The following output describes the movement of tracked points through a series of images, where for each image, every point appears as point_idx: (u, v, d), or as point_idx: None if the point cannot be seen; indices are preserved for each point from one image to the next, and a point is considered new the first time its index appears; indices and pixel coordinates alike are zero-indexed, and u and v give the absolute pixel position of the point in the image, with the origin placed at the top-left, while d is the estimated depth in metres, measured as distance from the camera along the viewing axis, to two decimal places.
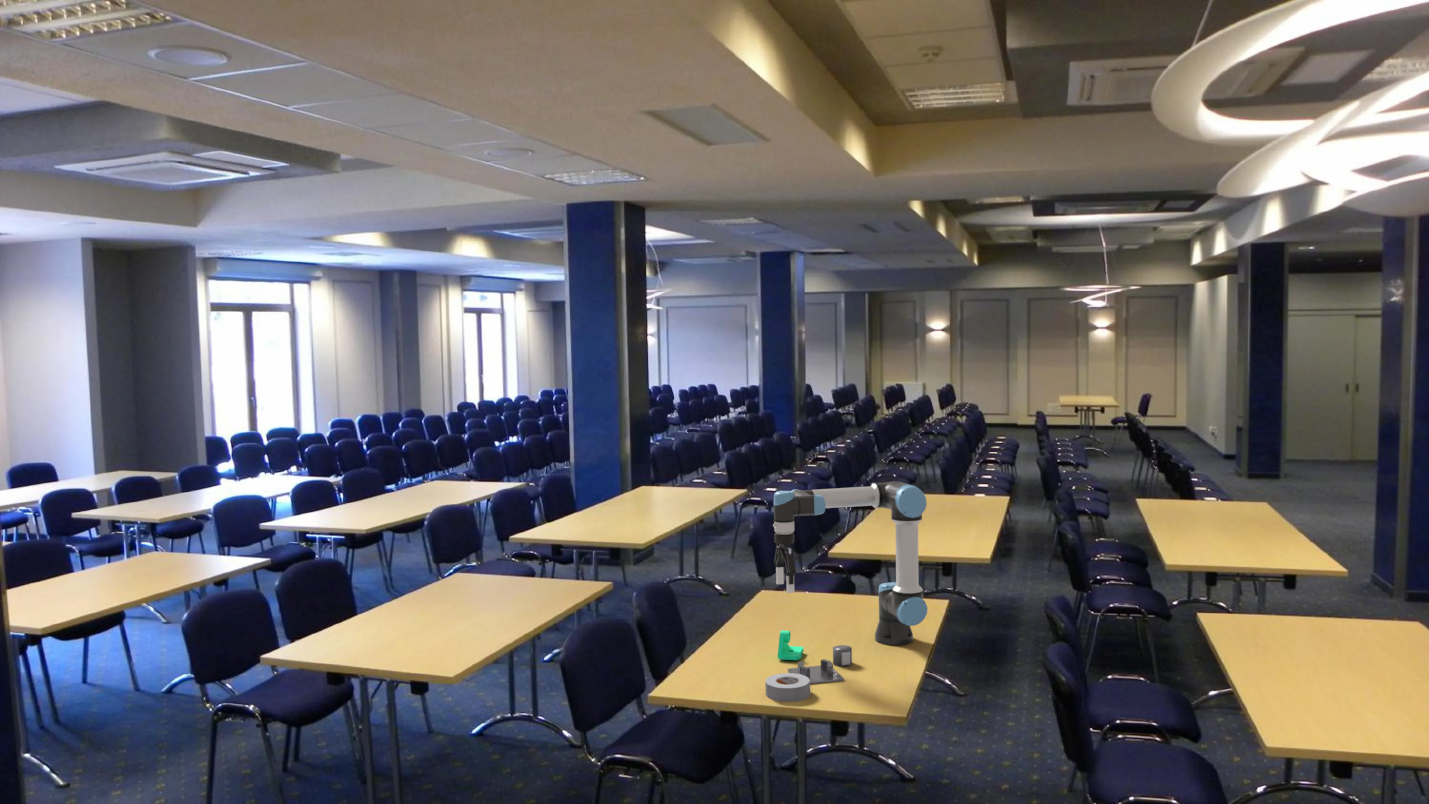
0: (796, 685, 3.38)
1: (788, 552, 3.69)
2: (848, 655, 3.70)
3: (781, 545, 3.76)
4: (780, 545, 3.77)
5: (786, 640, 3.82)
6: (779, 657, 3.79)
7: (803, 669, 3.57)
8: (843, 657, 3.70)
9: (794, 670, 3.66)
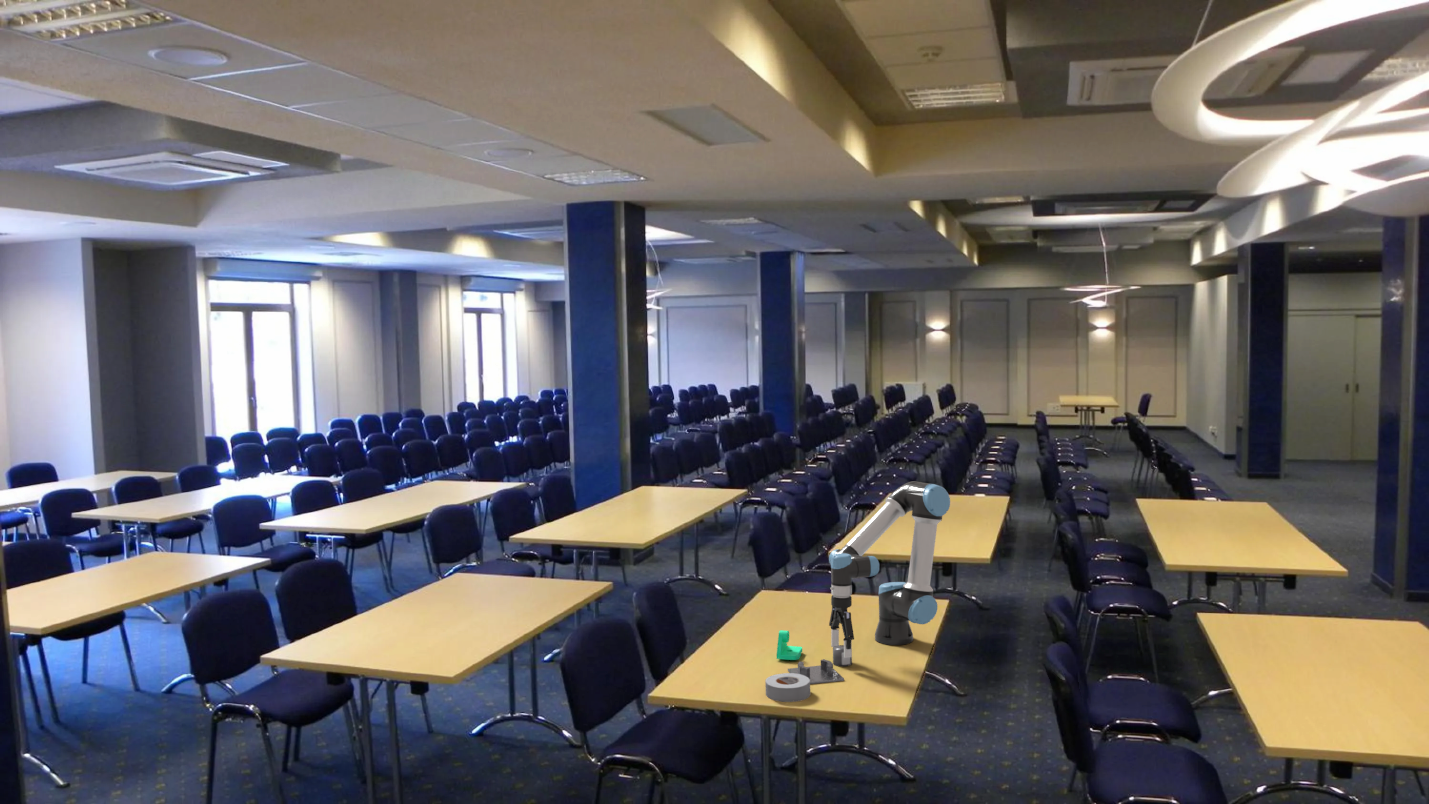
0: (796, 685, 3.38)
1: (846, 616, 3.66)
2: None
3: (838, 608, 3.73)
4: (837, 608, 3.74)
5: (785, 640, 3.82)
6: (778, 657, 3.79)
7: (803, 669, 3.57)
8: (843, 657, 3.70)
9: (794, 670, 3.66)
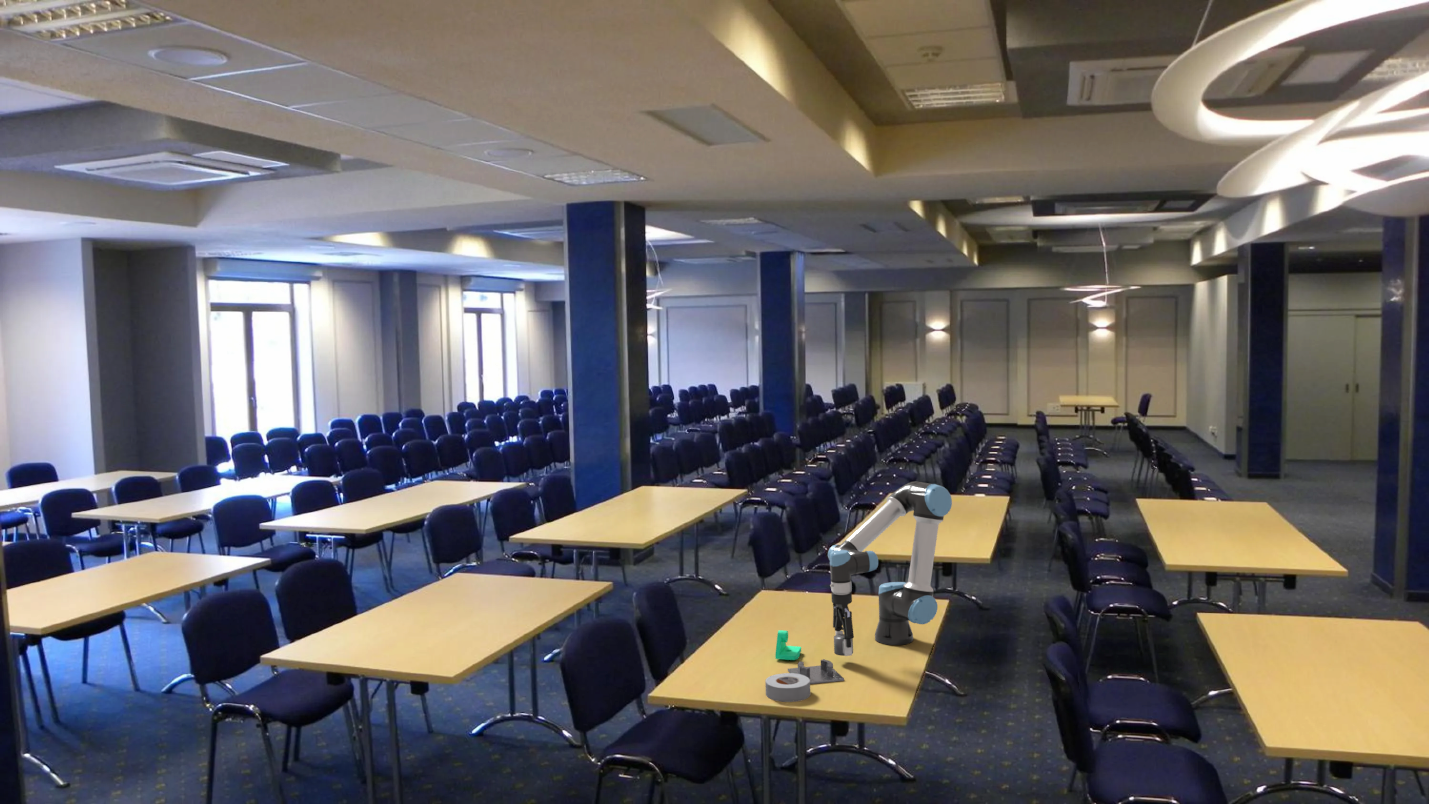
0: (796, 685, 3.38)
1: (847, 616, 3.67)
2: None
3: (838, 605, 3.73)
4: None
5: (784, 640, 3.82)
6: (777, 657, 3.79)
7: (803, 669, 3.57)
8: None
9: (794, 670, 3.66)
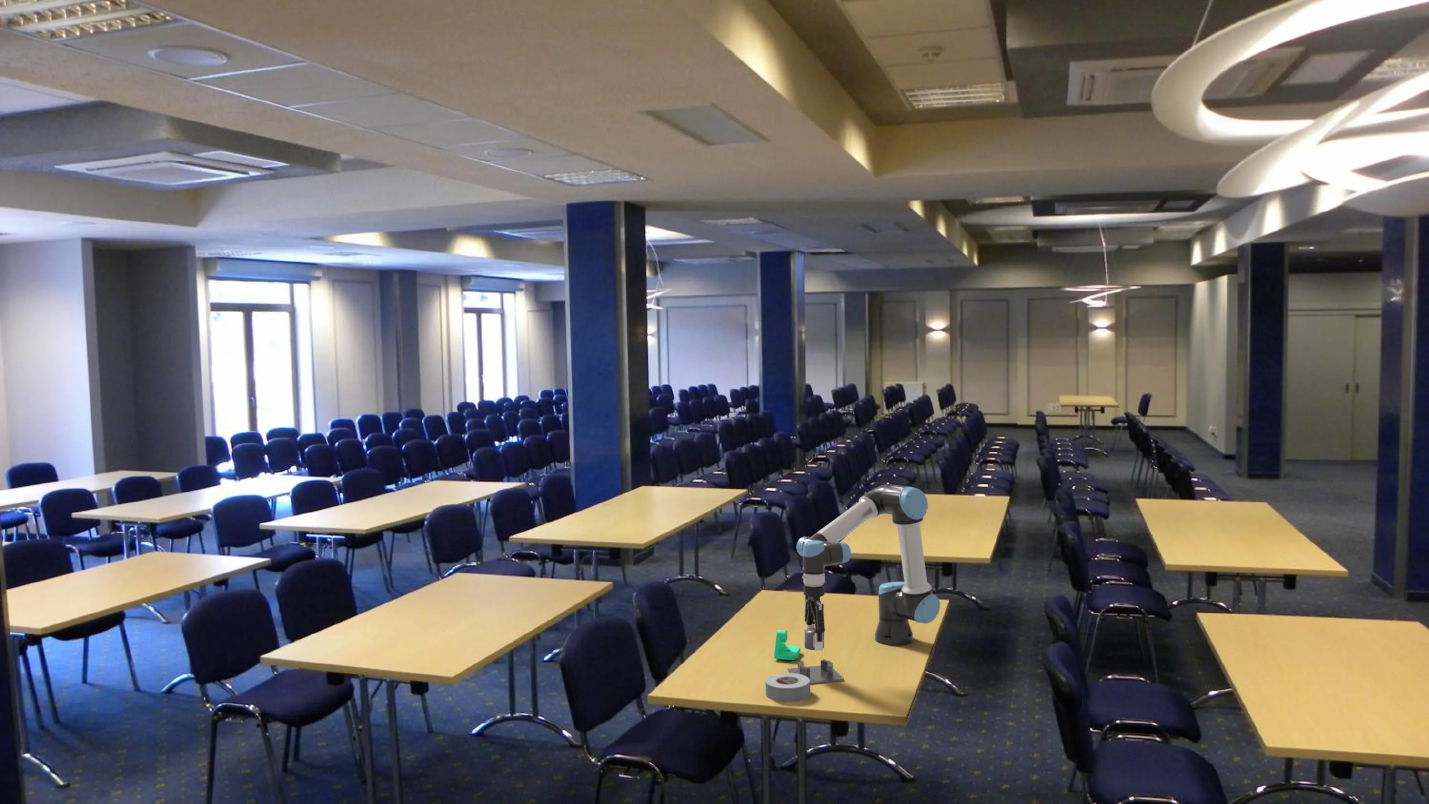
0: (796, 685, 3.38)
1: (818, 608, 3.53)
2: None
3: (811, 597, 3.60)
4: (809, 596, 3.61)
5: (783, 640, 3.82)
6: (776, 657, 3.79)
7: (803, 669, 3.57)
8: None
9: (794, 670, 3.66)
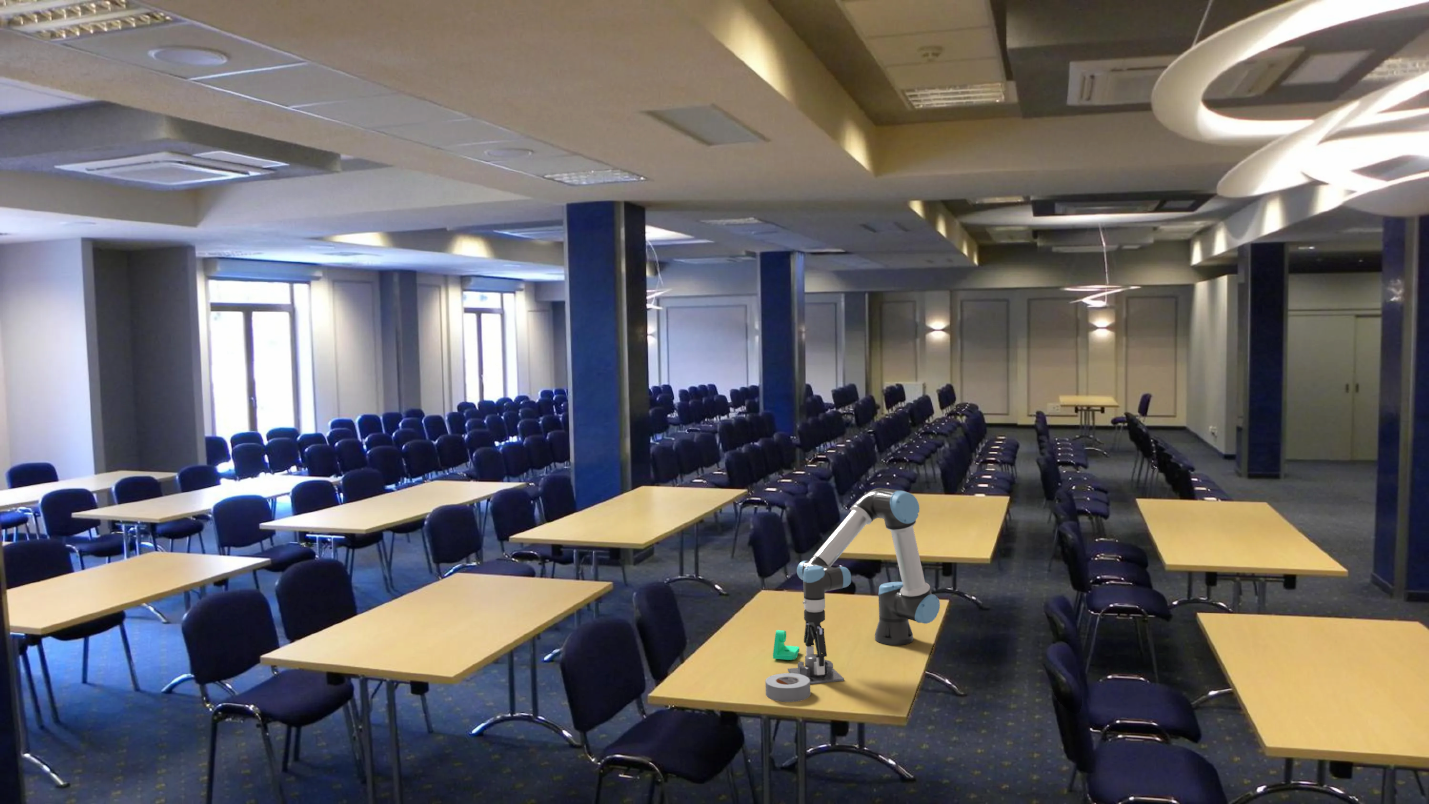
0: (796, 685, 3.38)
1: (819, 632, 3.54)
2: None
3: (811, 623, 3.60)
4: (810, 622, 3.62)
5: (781, 640, 3.82)
6: (774, 657, 3.79)
7: (803, 669, 3.57)
8: (815, 666, 3.57)
9: (794, 670, 3.66)
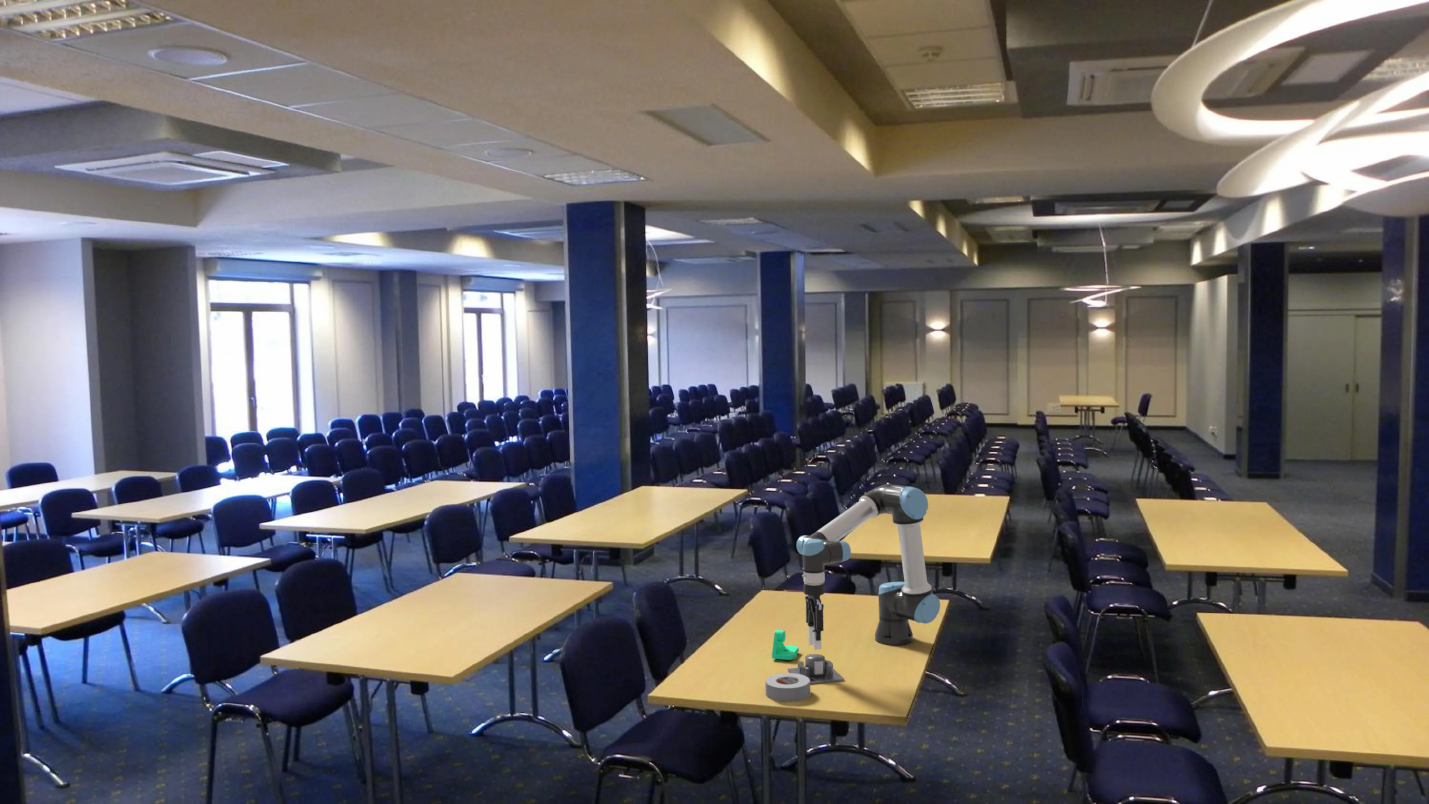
0: (796, 685, 3.38)
1: (818, 609, 3.54)
2: (821, 664, 3.58)
3: (811, 596, 3.60)
4: None
5: (781, 640, 3.82)
6: (773, 656, 3.79)
7: (803, 669, 3.57)
8: (816, 666, 3.57)
9: (794, 670, 3.66)
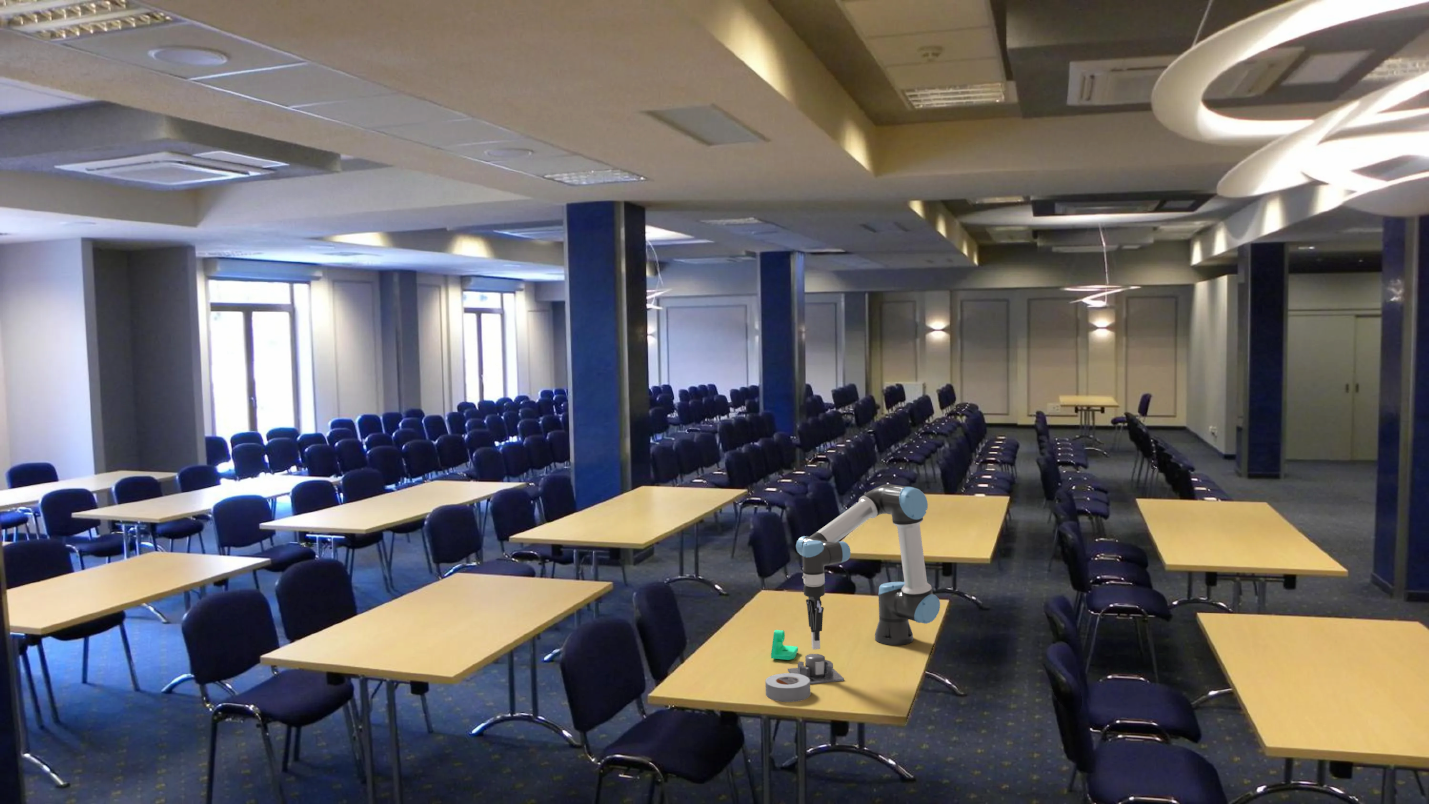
0: (796, 685, 3.38)
1: (818, 611, 3.55)
2: (822, 665, 3.58)
3: (811, 597, 3.60)
4: None
5: (780, 640, 3.82)
6: (772, 656, 3.80)
7: (803, 669, 3.57)
8: (817, 667, 3.57)
9: (794, 670, 3.66)
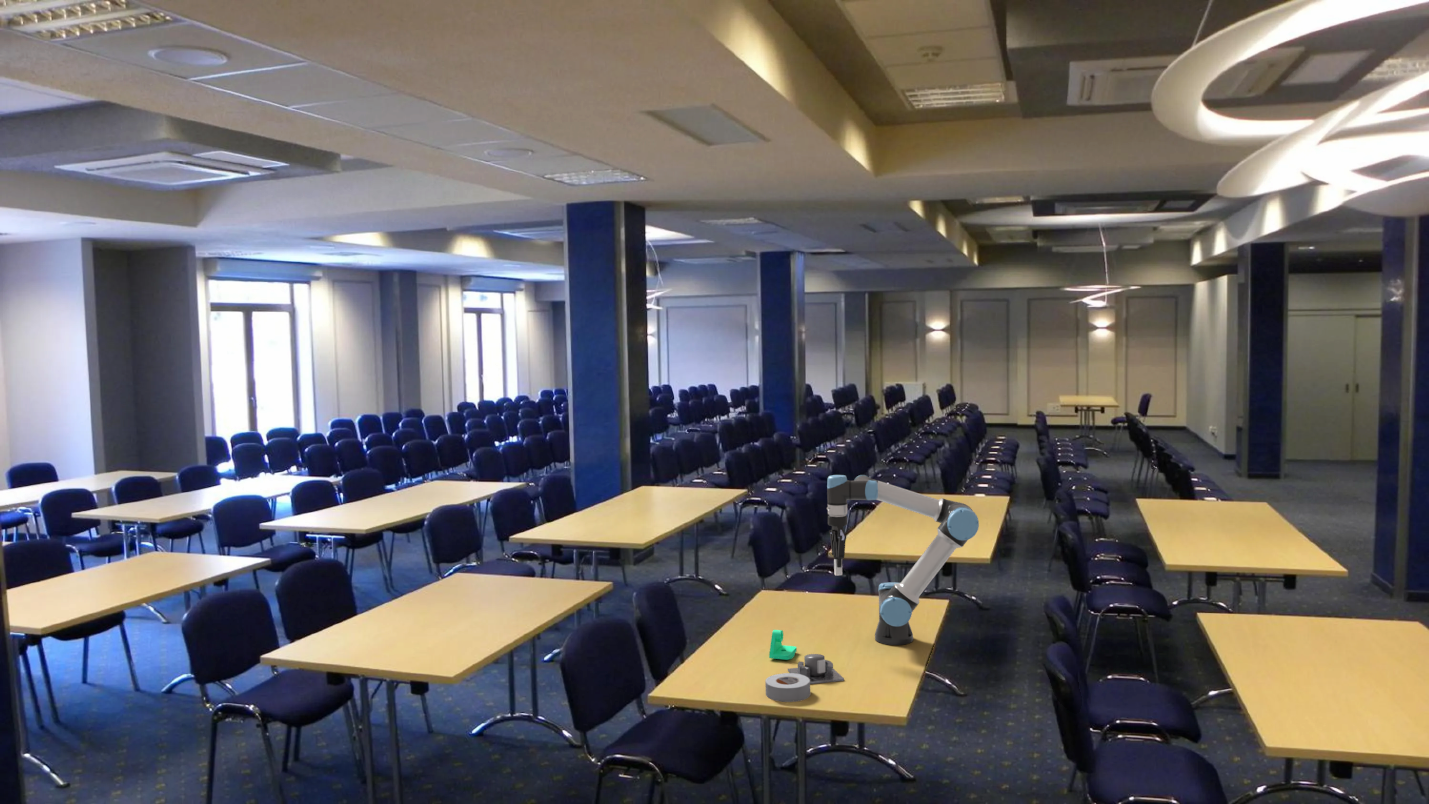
0: (796, 685, 3.38)
1: (841, 539, 3.84)
2: (823, 663, 3.59)
3: (834, 527, 3.89)
4: None
5: (778, 639, 3.83)
6: (771, 656, 3.80)
7: (803, 669, 3.57)
8: (819, 665, 3.57)
9: (794, 670, 3.66)
